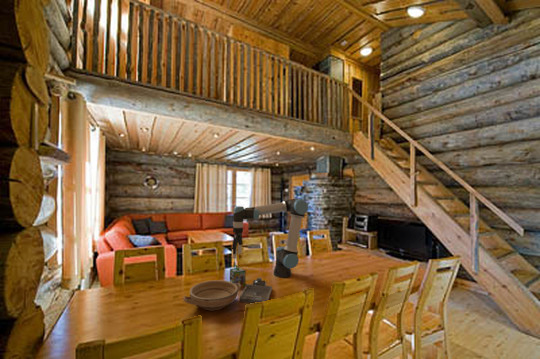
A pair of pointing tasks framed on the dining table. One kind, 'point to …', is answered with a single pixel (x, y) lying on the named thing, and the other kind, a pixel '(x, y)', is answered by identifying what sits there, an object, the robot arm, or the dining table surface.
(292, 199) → the robot arm
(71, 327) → the dining table surface
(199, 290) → the ceramic bowl
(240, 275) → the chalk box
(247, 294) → the motor base
